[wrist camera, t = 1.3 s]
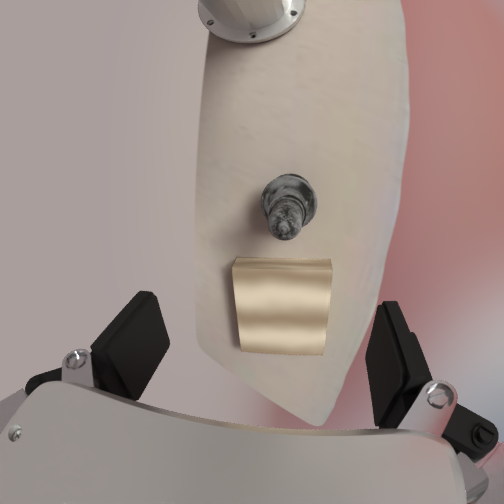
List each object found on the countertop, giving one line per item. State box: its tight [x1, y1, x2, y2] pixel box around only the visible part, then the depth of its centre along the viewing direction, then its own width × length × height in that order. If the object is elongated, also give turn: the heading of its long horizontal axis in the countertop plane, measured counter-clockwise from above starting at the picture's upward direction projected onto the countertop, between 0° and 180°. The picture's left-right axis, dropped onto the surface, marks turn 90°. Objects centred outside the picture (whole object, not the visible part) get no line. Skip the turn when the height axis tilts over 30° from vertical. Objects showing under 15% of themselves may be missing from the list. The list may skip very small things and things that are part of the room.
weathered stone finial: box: [261, 174, 317, 240], centre depth 26 cm, size 6×6×12 cm
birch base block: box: [232, 257, 333, 355], centre depth 36 cm, size 14×12×3 cm
